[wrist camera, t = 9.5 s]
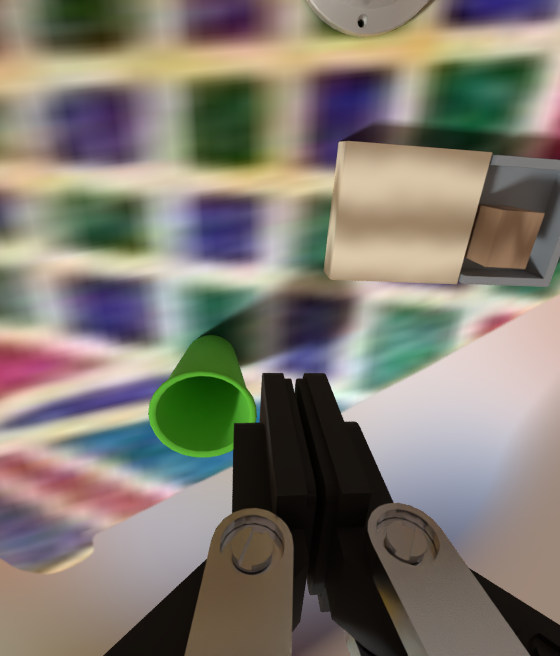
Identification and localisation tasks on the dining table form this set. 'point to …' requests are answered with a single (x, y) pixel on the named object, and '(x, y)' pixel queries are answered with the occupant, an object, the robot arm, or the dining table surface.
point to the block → (503, 236)
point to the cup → (202, 400)
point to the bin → (531, 194)
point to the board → (402, 212)
